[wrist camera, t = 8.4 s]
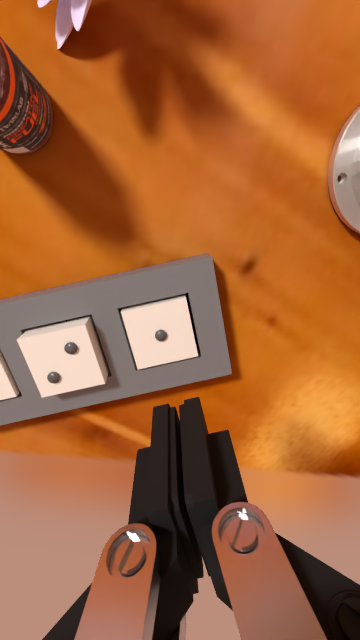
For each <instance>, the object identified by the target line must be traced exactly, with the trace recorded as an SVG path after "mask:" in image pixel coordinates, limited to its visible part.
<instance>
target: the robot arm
mask: <svg viewBox="0 0 360 640" xmlns="http://www.w3.org/2000/svg"><path fill="white" fill-rule="evenodd" d="M338 177H339V180H337V178H338ZM328 188H329V193H330V199H331V201H332V204H333V207H334V209H335V211H336V213H337V214H338V216H339V217H340V219H341V220H342V221H343V222H344V223H345V224H346V225H347V226H348V227H349V228H350V229H352V230H353V231H355V232H357V233H358V234H360V106H359V107H358V108H357V109H356V110H355V111H354V112H353V113H352V115H351V116H350V117H349V119H348V120H347V121H346V123H345V124H344V126H343V128H342V129H341V131H340V133H339V135H338V137H337V139H336V142H335V144H334V147H333V150H332V153H331V157H330V163H329V168H328ZM179 412H180V420H179V417H178V414H177V410H176V407H170V405H169V404H165V405H160V406H156V407H154V408H153V419H152V432H151V446H150V447H147V448H142V449H139V450H138V452H137V458H136V466H135V474H134V482H133V490H132V498H131V506H130V514H129V522H128V525H126V526H124V527H122V528H120V529H119V530H118V531H117V532H115V533H114V534H113V535H112V536H111V538H110V539H109V540H108V542H107V543H106V545H105V547H104V549H103V551H102V554H101V557H100V560H99V563H98V566H97V570H96V573H95V576H94V579H93V582H92V583H91V585H90V586H89V587H88V588H87V589H86V590H85V592H84V593H83V594H82V595H81V596H80V597H79V598H78V599H77V601H76V602H75V603H74V604H73V605H72V606H71V607H70V609H69V610H68V611H67V612H66V613H65V614H64V615H63V617H62V618H61V619H60V620H59V621H58V622H57V624H56V625H55V626H54V627H53V628H52V629H51V630H50V632H49V633H48V634H47V635H46V636H45V637H44V638H43V639H42V640H185V635H186V612H187V610H188V609H189V607H190V606H191V604H192V602H193V594H195V593H198V581H197V579H198V578H203V563H202V557H203V560H204V563H205V566H206V569H207V572H208V575H209V576H211V579H212V582H213V585H214V588H215V591H216V594H217V597H218V598H219V599H220V600H221V601H223V602H224V603H225V604H226V605H227V606H228V607H229V608H230V609H231V610H233V612H234V616H235V619H236V623H237V626H238V630H239V633H240V637H241V640H360V585H359V584H357V583H355V582H354V581H352V580H351V579H349V578H347V577H346V576H344V575H342V574H341V573H339V572H338V571H336V570H334V569H333V568H331V567H330V566H328V565H326V564H325V563H323V562H322V561H320V560H318V559H317V558H315V557H314V556H312V555H310V554H309V553H307V552H305V551H304V550H302V549H301V548H299V547H297V546H296V545H294V544H292V543H291V542H289V541H288V540H286V539H285V538H283V537H281V536H280V535H278V534H276V533H275V532H274V530H273V528H272V526H271V524H270V522H269V520H268V518H267V517H266V515H265V514H264V512H263V511H262V510H260V509H259V508H258V507H257V506H255V505H252V504H250V503H248V501H247V497H246V493H245V490H244V486H243V482H242V478H241V475H240V471H239V467H238V464H237V460H236V456H235V453H234V449H233V445H232V442H231V438H230V434H229V431H228V430H225V431H220V432H216V433H211V434H208V430H207V426H206V422H205V418H204V414H203V410H202V407H201V403H200V399H199V397H196V398H191V399H187V400H184V404H183V405H179Z"/></svg>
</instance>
